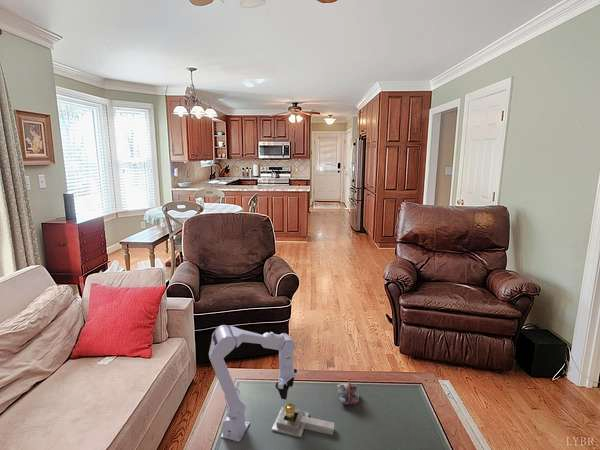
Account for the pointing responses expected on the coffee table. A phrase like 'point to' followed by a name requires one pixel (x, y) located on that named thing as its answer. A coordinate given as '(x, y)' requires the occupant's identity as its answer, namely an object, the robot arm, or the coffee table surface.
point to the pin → (290, 412)
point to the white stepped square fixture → (301, 424)
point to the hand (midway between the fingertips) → (287, 392)
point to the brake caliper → (348, 393)
